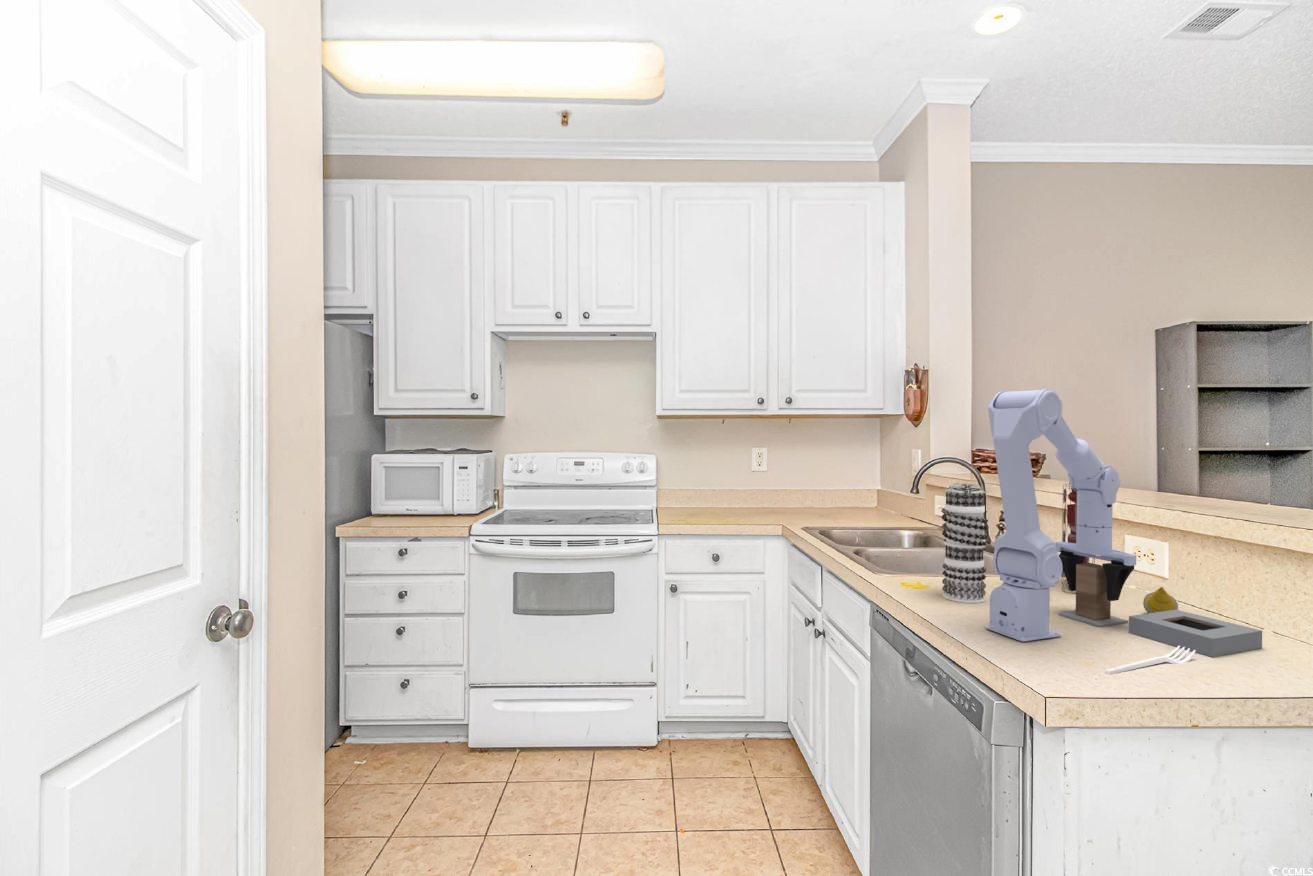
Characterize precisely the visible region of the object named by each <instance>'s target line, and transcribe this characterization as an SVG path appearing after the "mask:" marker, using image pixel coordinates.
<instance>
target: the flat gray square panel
mask: <svg viewBox="0 0 1313 876" xmlns="http://www.w3.org/2000/svg"><path fill="white" fill-rule="evenodd" d="M1058 616H1062V617H1065V618H1067V619H1070V620H1071V619H1072V620H1074V621H1077V622H1082V623H1084V624H1087V625H1091V626H1095V627H1098V628H1101V627H1107V626H1109V627H1110V626H1114V625H1115V626H1116V625H1122V624H1129V619H1128V620H1127V619H1124V618H1120V617H1117V616H1113V615H1110V619H1105V620H1097V621H1095V620H1092V619H1088V618H1085V617H1081V616H1078V615H1076V610H1070V611H1064V612H1062V611H1061V612H1059V613H1058Z"/></svg>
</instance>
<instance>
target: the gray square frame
mask: <svg viewBox="0 0 1313 876" xmlns="http://www.w3.org/2000/svg"><path fill="white" fill-rule="evenodd" d="M1129 633H1130V634H1132V635H1136V636H1139V637H1143V638H1147V639H1150V640H1153V641H1156V642H1161V643H1162V644H1163V643H1164V644H1167V645H1168V646H1169V645H1170V646H1173V647H1175V648H1177V647H1178V646H1180V648H1179V649H1182V648H1183V647H1185V649H1184V650H1185V651H1186V650H1187V649H1188V648H1190V650H1189V652H1193V651H1194V650H1196V651H1195V653H1196V654H1200V655H1204V656H1207V657H1210V658H1215V657H1221V656H1228V655H1232V654H1239V653H1243V652H1249V651H1253V650H1259V649H1263V630H1261V629H1259V628H1258V629H1257V628H1252V627H1249V626H1245V625H1241V624H1238V623H1237V624H1236V623H1233V622H1229V621H1225V620H1220V619H1216V618H1212V617H1209V616H1204V615H1201V614H1197V613H1196V614H1195V613H1192V612H1188V611H1184V610H1180V609H1178V610H1170V611H1162V612H1155V613H1148V612H1147V613H1141V614H1135V615H1128V634H1129Z"/></svg>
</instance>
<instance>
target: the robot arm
mask: <svg viewBox="0 0 1313 876" xmlns="http://www.w3.org/2000/svg"><path fill="white" fill-rule="evenodd" d="M987 410H988V411H987V412H988V418H989V424H990V431H991V432H990V433H991V437H993V438H992V440H993V447H994V454H995V461H996V467H997V468H996V469H997V475H998V482H999V488H1000V496H1001V503H1002V509H1003V517H1004V523H1005V530H1006V531H1005V532H1004V533H1002V534H1000V535H999V536H998V537H997V538H996V539H994V541H993V546H994V549H993V550H994V552H993V554H992V555H993V556H992V565H993V569H994V571H995V572H996V574H997V575H999V580H1000V581H1002V582H1003V583H1002V584H1000V586H997V587H995V588H994V589H992V591H991V593H990V595H989V624H988V625H985V629H987V630H989V631H993V632H995V633H998V634H1000V635H1003V636H1005V637H1009V638H1010V639H1011V638H1012V639H1015V640H1017V641H1019V642H1023V643H1024V642H1030V641H1037V640H1044V639H1053V638H1057V637H1062V633H1061V632H1058V631H1055V630H1052V629H1050V607H1051V606H1050V601H1051V599H1050V598H1051V597H1050V595H1051V593H1050V592H1051V588H1054V587H1055V585H1056V584H1057V583H1058V582H1059V581H1060V579H1061V578H1062V569H1063V571H1064V574H1065V575H1064V578H1065V580H1066V582H1067V583H1066V584H1067V586H1068V587H1067V588H1069V589H1068V590H1069V591H1070V592H1072V591H1073V592H1076V564H1083V561H1084V558H1085V557H1089V559H1090V558H1092V559H1094V558H1095V560H1101V561H1106V562H1107V563H1102V566H1103V568H1104V571H1105V575H1106V581H1107V599H1108V600H1109V601H1111V602H1113V601H1114V602H1117V601H1119V599H1120V596H1121V593H1122V590H1123V587H1124V585H1125V583H1126V581H1127V579H1128V578H1129V577H1130V575H1131V573H1132V572H1133V571H1135V566H1136V565H1137V555H1136V554H1134V553H1129V552H1128V553H1127V552H1123V551H1120V550H1117V549H1114V548H1113V509H1114V507H1113V504H1115V503H1116V501H1117V493H1118V491H1119V489H1120V486H1121V479H1120V475H1119V472H1118V471H1117V469H1116V468H1114V467H1112V466H1111V465H1109V464H1105V463H1104V462H1103V460H1101V458H1100V457H1099V456H1098V454H1097V453H1096V452H1095V450H1093V448H1092V447H1091V446H1090V444H1089V443H1088V442H1087V440H1084V439H1082V438H1076V436H1075V435H1074V434H1073V432H1072V430H1071V429H1070V427H1069V425H1068V424H1067V422H1066V421H1065V419H1064V418H1063V416H1062V413H1063V402H1062V400H1061V398H1060V397H1059V394H1057V392H1056V391H1055V390H1054V389H1053V388H1042V389H1035V390H1034V389H1033V390H1019V391H1018V390H1017V391H1013V390H1012V391H1006V390H1005V391H1003V390H1002V391H999V392H997V393H996V394H995V395H994V396H993V398H992V399H991V401H990V403H989V404H988V406H987ZM1042 436H1044V437H1045V438H1046V440H1048V441H1049V442H1050V443H1051V444H1052V445H1053V447H1055V448H1056V451H1055V458H1056V459H1057V461H1058V462H1059V463H1060V465H1062V467H1063V468H1064V469H1065V470H1066V472H1067V477H1068V480H1069V483H1070V484H1069V486H1071V487H1070V488H1072V489H1073V490H1074V491H1076V492H1077V526H1076V544H1075V543H1068V541H1065V542H1062V541H1056V542H1055V541H1053V540H1052V539H1051V538H1050V537H1049V536H1048V535H1046V534H1045V533H1044V532H1043V531H1042V530H1041V526H1040V525H1041V524H1040V517H1039V512H1038V505H1037V496H1036V490H1035V489H1036V488H1035V481H1034V475H1033V467H1032V461H1031V452H1030V445H1031V443H1032V442H1033V441H1034V440H1036V439H1039V438H1040V437H1042Z"/></svg>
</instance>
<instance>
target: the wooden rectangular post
mask: <svg viewBox="0 0 1313 876" xmlns="http://www.w3.org/2000/svg"><path fill="white" fill-rule="evenodd" d="M1075 592H1076V594H1075V611H1076V615H1078V616H1081V617H1085V618H1088V619H1092V620H1095V621H1097V620H1105V619H1110V616H1111V609H1112V608H1111V605H1112V603H1111V602H1112V601H1109V600H1108V599H1107V581H1106V575H1105V571H1104V568H1103V564H1097V563H1095V564H1094V562H1093V563H1092V562H1091V563H1090V562H1089V563H1086V564H1076V591H1075Z"/></svg>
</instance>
